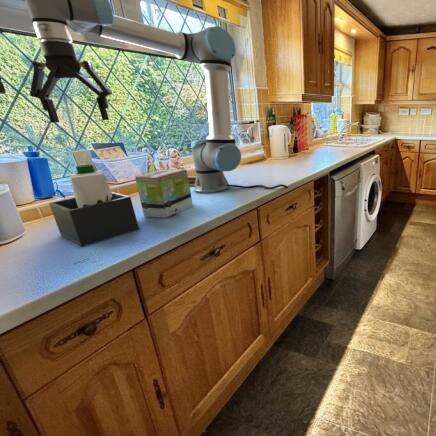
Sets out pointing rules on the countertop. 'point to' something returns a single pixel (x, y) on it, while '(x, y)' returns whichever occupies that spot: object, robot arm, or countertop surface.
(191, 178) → the toy sandwich meal
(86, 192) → the soya milk
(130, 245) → the countertop surface
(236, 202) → the countertop surface
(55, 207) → the waste bin
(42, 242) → the countertop surface
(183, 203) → the tea box
